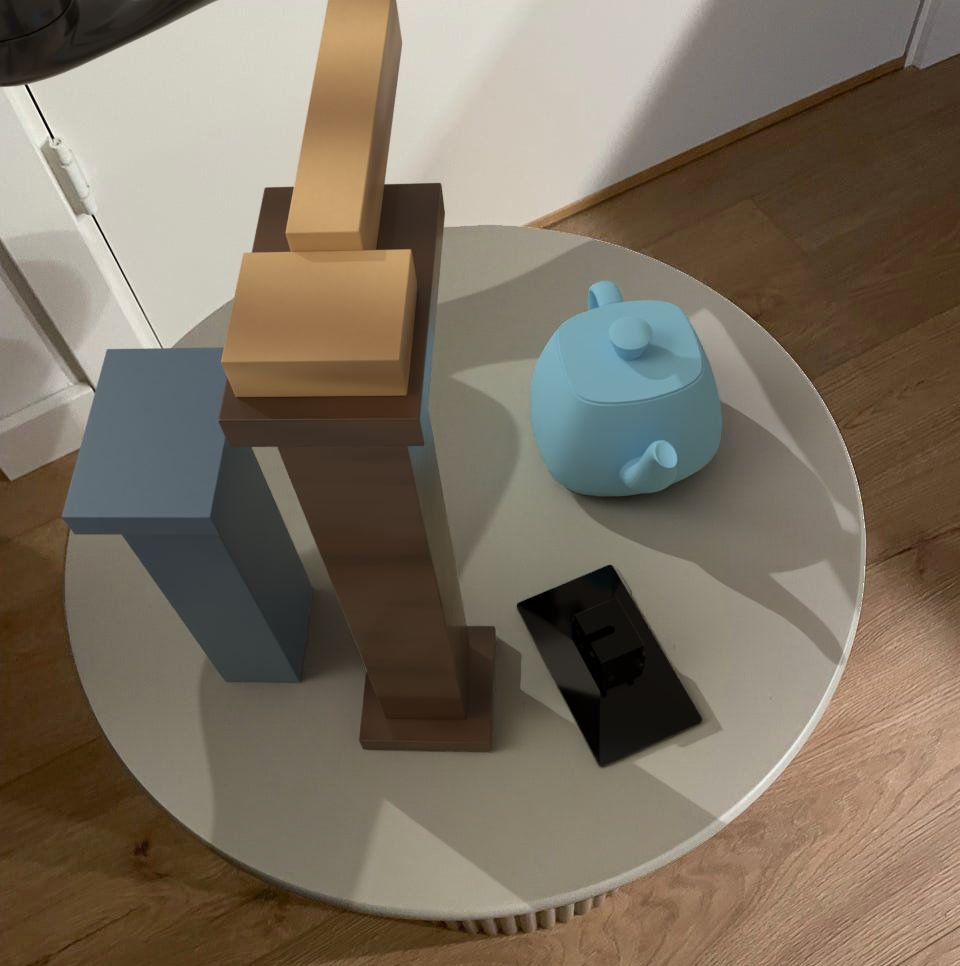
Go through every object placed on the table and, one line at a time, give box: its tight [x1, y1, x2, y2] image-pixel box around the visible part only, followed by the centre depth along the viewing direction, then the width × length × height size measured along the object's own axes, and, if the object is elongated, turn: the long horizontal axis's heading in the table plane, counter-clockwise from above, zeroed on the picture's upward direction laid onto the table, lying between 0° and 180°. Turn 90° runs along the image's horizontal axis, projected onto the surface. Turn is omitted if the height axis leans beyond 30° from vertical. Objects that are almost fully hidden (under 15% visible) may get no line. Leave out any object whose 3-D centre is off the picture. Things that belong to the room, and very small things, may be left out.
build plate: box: [516, 564, 703, 768], centre depth 63 cm, size 12×7×5 cm, turn 23°
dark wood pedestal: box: [218, 182, 497, 753], centre depth 52 cm, size 12×8×32 cm
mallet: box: [221, 0, 418, 397], centre depth 38 cm, size 19×6×3 cm, turn 177°
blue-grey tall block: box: [61, 347, 314, 683], centre depth 58 cm, size 10×7×22 cm
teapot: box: [529, 280, 723, 497], centre depth 68 cm, size 13×11×18 cm
